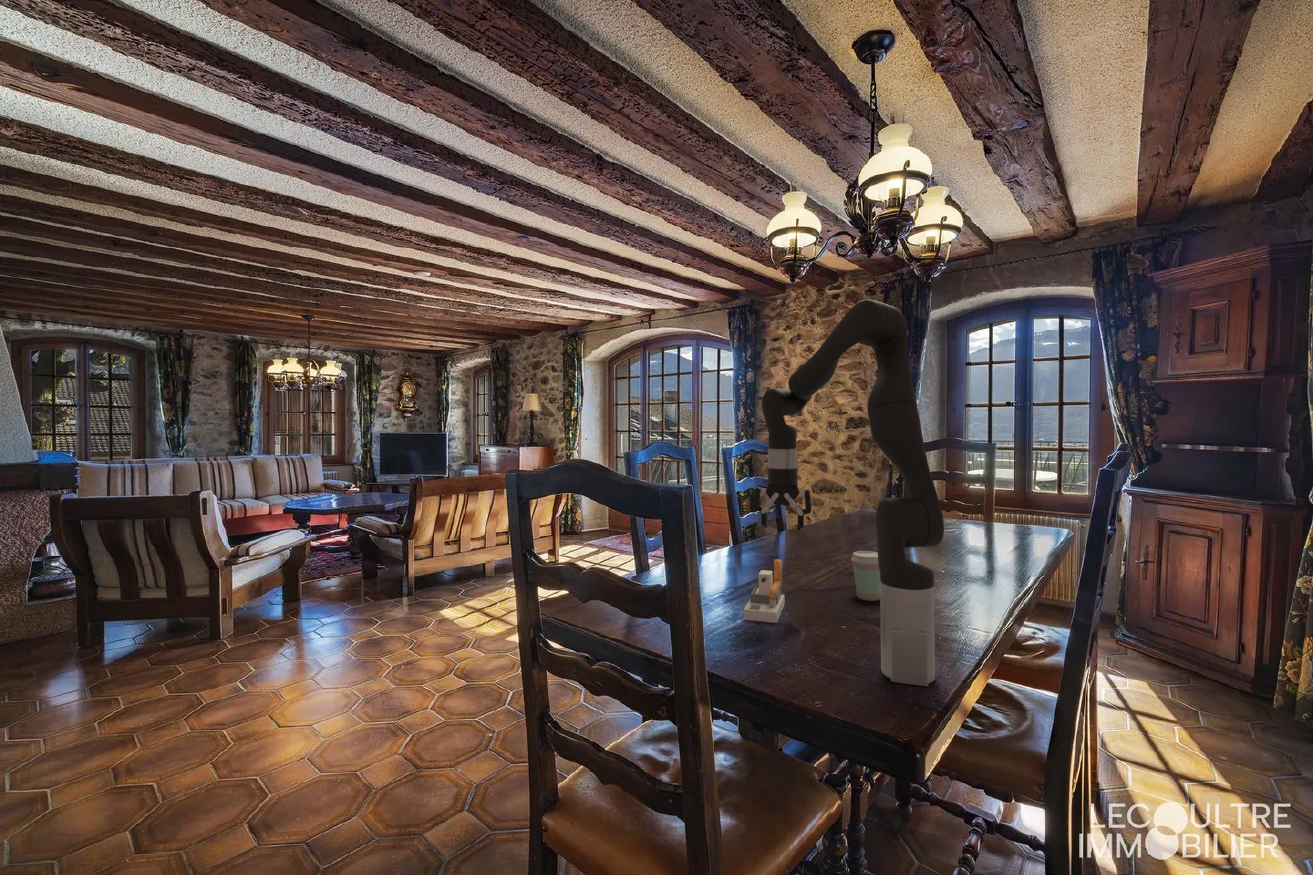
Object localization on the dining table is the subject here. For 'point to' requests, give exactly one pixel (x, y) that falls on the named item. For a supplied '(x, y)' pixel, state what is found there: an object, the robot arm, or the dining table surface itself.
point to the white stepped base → (764, 607)
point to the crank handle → (776, 578)
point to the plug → (765, 582)
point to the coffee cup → (866, 575)
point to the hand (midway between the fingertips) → (782, 528)
